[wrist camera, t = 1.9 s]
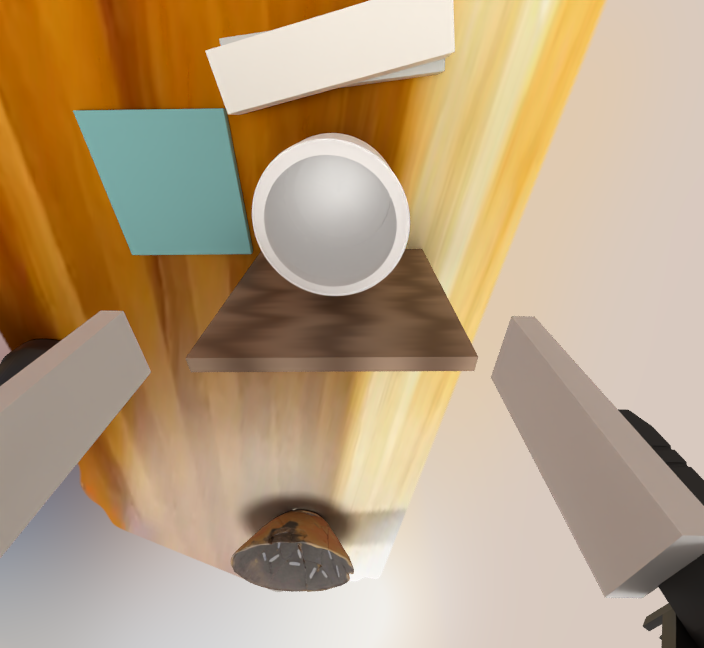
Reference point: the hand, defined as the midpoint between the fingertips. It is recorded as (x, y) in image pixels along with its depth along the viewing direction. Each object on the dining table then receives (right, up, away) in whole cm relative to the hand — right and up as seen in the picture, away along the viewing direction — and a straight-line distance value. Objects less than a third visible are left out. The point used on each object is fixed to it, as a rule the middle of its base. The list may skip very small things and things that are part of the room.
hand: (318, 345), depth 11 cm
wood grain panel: (0, +6, +28) cm, 29 cm away
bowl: (-11, -44, +61) cm, 76 cm away
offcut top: (0, +22, +15) cm, 27 cm away
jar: (0, +15, +22) cm, 27 cm away
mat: (-18, +15, +22) cm, 32 cm away
